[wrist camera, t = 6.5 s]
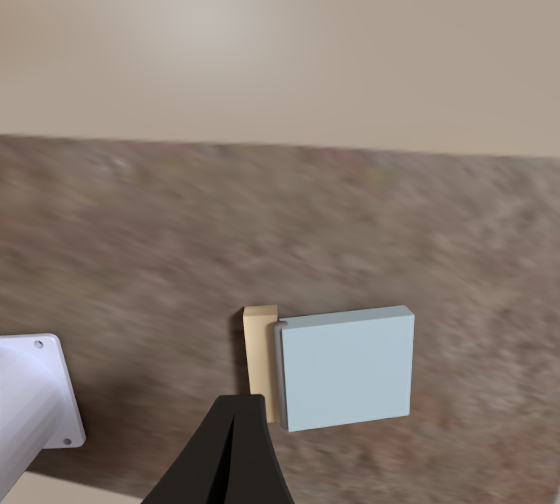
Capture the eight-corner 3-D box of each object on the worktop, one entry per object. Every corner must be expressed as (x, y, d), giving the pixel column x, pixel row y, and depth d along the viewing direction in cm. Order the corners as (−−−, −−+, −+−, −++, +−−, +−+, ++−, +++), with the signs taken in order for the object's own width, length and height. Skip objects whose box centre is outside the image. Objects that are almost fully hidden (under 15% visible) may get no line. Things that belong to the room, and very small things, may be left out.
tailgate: (281, 432, 20) (408, 414, 21) (274, 330, 18) (414, 314, 19) (279, 417, 21) (399, 400, 22) (271, 319, 19) (404, 304, 20)
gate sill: (255, 408, 22) (253, 423, 21) (245, 306, 20) (242, 316, 19) (284, 407, 22) (284, 421, 21) (276, 305, 20) (276, 314, 19)
